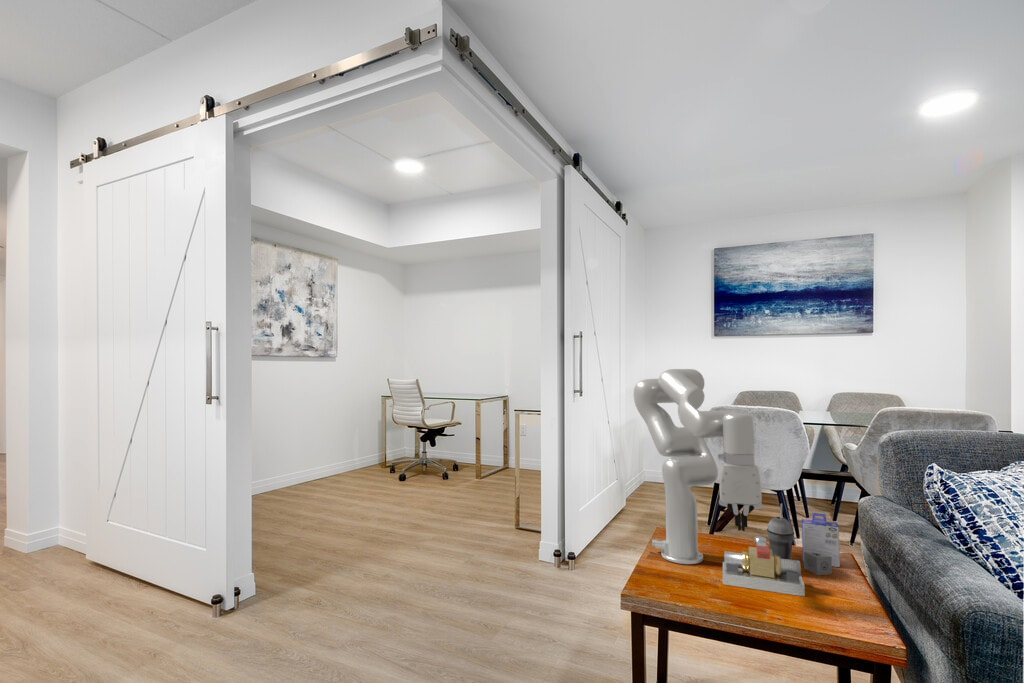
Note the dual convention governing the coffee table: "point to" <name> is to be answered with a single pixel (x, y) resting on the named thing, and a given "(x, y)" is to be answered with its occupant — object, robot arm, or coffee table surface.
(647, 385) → the robot arm
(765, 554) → the valve lever
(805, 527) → the ink cartridge box
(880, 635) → the coffee table surface
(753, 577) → the pipe valve board
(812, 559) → the dice cube
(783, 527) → the beverage cup
